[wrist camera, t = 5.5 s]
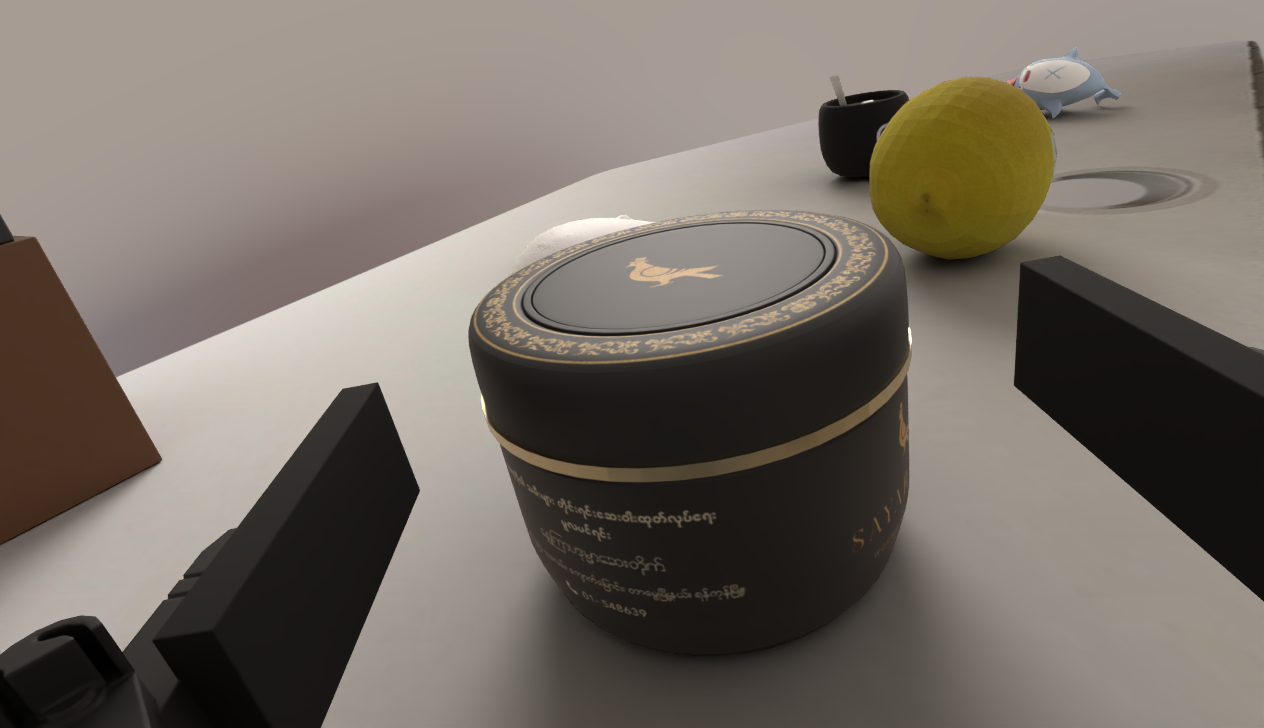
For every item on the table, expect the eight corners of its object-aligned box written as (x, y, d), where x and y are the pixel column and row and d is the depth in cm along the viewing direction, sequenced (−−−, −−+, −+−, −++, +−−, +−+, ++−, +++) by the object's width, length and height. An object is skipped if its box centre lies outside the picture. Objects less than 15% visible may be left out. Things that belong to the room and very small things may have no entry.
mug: (880, 188, 47) (876, 71, 44) (803, 185, 52) (795, 80, 49) (964, 145, 54) (965, 41, 51) (889, 146, 58) (886, 51, 55)
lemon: (1010, 296, 29) (1020, 92, 25) (835, 280, 34) (824, 109, 30) (1080, 217, 35) (1094, 47, 32) (924, 214, 40) (923, 67, 37)
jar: (886, 744, 13) (869, 382, 10) (465, 632, 17) (358, 361, 14) (931, 445, 21) (929, 191, 17) (632, 422, 25) (587, 217, 22)
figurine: (1124, 97, 56) (1113, 100, 53) (1018, 129, 62) (1003, 134, 59) (1113, 34, 56) (1102, 34, 52) (1007, 72, 61) (991, 74, 58)
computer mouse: (684, 225, 48) (679, 191, 47) (568, 290, 40) (559, 252, 39) (611, 224, 52) (604, 193, 51) (493, 283, 45) (483, 248, 44)
